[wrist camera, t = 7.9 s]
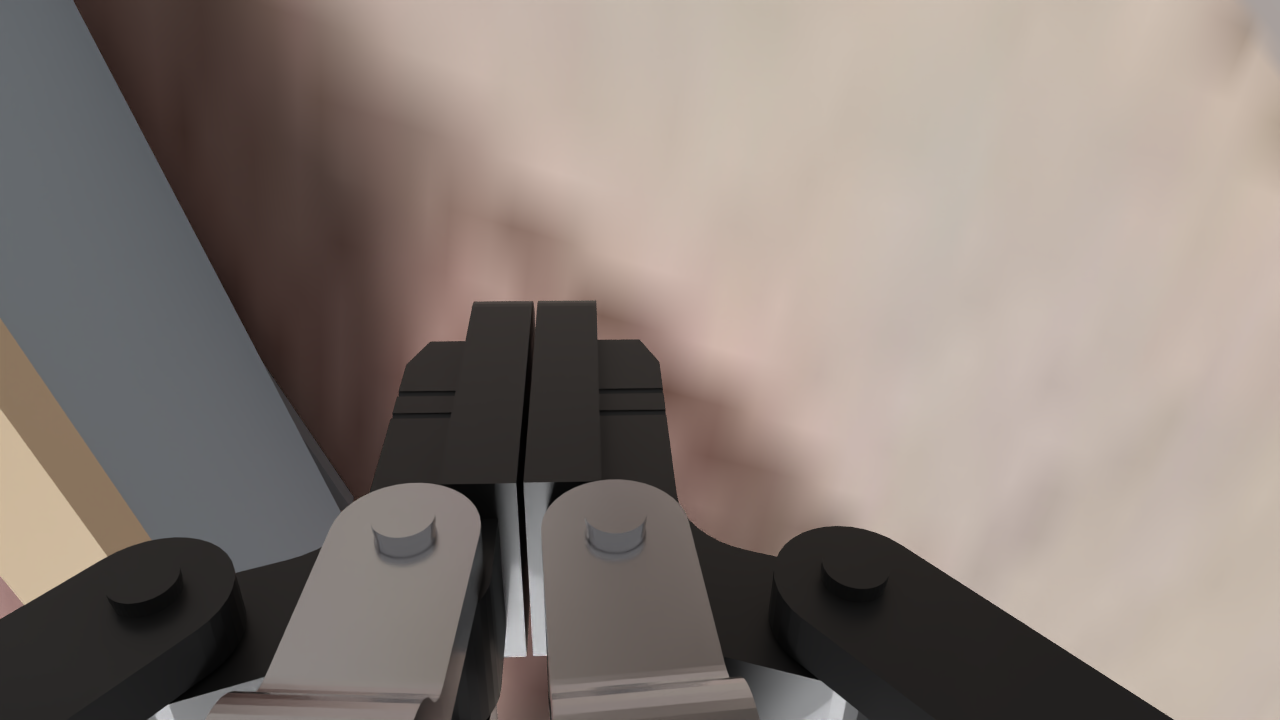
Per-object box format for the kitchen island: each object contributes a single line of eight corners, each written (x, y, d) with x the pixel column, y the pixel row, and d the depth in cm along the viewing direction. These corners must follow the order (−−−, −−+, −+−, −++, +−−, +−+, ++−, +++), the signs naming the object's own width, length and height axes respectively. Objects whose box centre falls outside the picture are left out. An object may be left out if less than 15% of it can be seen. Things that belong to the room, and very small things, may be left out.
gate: (367, 539, 25) (290, 808, 19) (302, 552, 25) (204, 823, 19) (51, -74, 17) (-270, 36, 11) (-42, -50, 17) (-413, 74, 11)
